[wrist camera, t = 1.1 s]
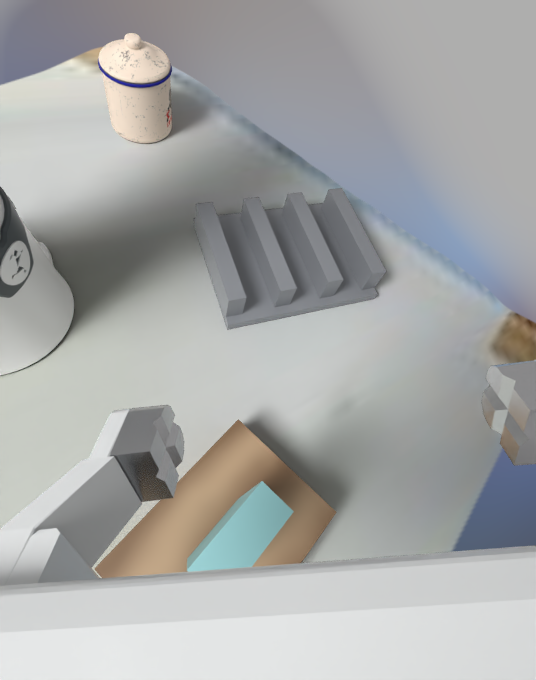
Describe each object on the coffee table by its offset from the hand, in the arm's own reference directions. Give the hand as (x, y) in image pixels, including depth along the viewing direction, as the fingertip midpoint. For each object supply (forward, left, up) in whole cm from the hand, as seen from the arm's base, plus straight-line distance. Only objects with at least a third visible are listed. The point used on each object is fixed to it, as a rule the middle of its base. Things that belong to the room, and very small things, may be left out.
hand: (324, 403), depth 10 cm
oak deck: (0, -3, -31) cm, 31 cm away
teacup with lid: (-26, +49, -31) cm, 63 cm away
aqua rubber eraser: (0, -3, -27) cm, 27 cm away
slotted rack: (0, +30, -31) cm, 43 cm away
